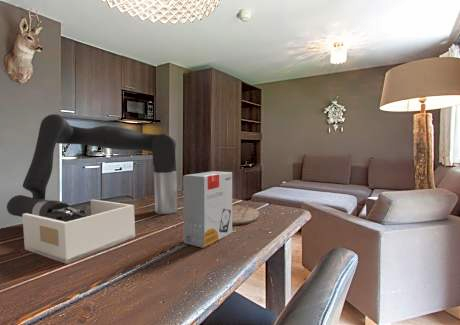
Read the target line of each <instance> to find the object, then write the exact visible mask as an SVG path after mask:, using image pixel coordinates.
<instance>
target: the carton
mask: <svg viewBox="0 0 460 325" xmlns="http://www.w3.org/2000/svg"><path fill="white" fill-rule="evenodd" d="M90 214H91V215H87V217H83V218H80V219H76V220H72V221H68V222H64V221H60V220H55V219H51V218H46V217H42V216H37V215H32V214H28V213H25V214H22V216H23V217H22V226H23V227H22V228H23V239H24V240H23V241H24V242H23V244H24V250H26V251H29V252H31V253H34V254H37V255H41V256H43V257H45V258H49V259H51V260H55V261H56V262H60V263H64V264H66V265H67V264H68V265H69V264H70V263H73V262H75V261H78V260H80V259H83V258H85V257H88V256H90V255H93V254H95V253H98V252H100V251H102V250H105V249H107V248H110V247H113V246H115V245H118V244H120V243H123V242H125V241H128V240H130V239H133V238H135V237H136V223H135V220H136V219H135V205H134V204H128V203H122V202H121V203H120V202H113V201H107V200H101V199H90Z"/></svg>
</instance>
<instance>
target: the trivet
mask: <svg viewBox="0 0 460 325" xmlns="http://www.w3.org/2000/svg"><path fill="white" fill-rule="evenodd" d="M259 218H260V212H259V211H258V210H257V209H255V208H253V207H249V206H243V205H233V204H232V227H238V226H246V225H250V224H252V223H255V222H257V221H258V220H259Z"/></svg>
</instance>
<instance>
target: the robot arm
mask: <svg viewBox="0 0 460 325" xmlns="http://www.w3.org/2000/svg"><path fill="white" fill-rule="evenodd" d="M57 144H60V145H61V144H63V145H65V144H66V145H82V146H83V145H84V146H89V147H90V146H92V147H98V148H104V149H109V150H121V151H122V150H123V151H144V152H145V151H146V152H151V153H152V166H153V179H154V180H153V181H154V182H153V184H154V210H155V214H158V215H169V214H174V213H178V186H177V184H178V182H177V180H178V179H177V162H176V161H177V158H176V149H177V148H176V147H177V143H176V140H175V138H174V137H173V136H172V135H170V134H168V133H155V134H154V133H145V132H140V131H136V130H133V129H128V128H125V127H124V128H123V127H121V126H120V127H119V126H112V125H99V126H96V127H95V126H94V127H91V128H90V127H87V128H86V127H79V126H74V125H70V124H69V122H68V121H67V120H66V119H65V118H64V116H61V115H60V114H54V113H53V114H48V115H46V116H45V117H44V118H43V119H42V120H41V122H40V125H39V128H38V136H37V140H36V145H35V149H34V153H33V156H32V160H31V163H30V165H29V168H28V170H27V173H26V175H25V177H24V180H23V183H22V187H23V189H25V190H27V191H29V193H31V195H32V197H30V196H28V195H27V196H26V195H23V194H19V195H14V196H12V197H11V198H10V199H9V200H8V202H7V203H6V211H7V213H8V214H10V215H11V216H15V217H16V216H17V217H21V218H23V216H22V214H25V213H28V214H32V215H37V216H42V217H46V218H51V219H55V220H60V221H64V222H68V221H72V220H76V219H80V218H83V217H87V216H88V215H87V207H86V206H82V207H80V208H79V209H77V208H76V207H75V208H74V207H72V206H70V204H68V202H65V201H61V200H54V199H46V194H47V193H46V192H47V191H46V190H47V186H48V183H49V181H50V179H51V175H52V172H53V167H54V166H53V165H54V163H53V162H54V152H55V148H56V145H57Z"/></svg>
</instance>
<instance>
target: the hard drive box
mask: <svg viewBox="0 0 460 325" xmlns="http://www.w3.org/2000/svg"><path fill="white" fill-rule="evenodd" d="M182 187H183V188H182V192H183V193H182V194H183V195H182V199H183V202H182V203H183V244H186V245H191V246H195V247H199V248H202V249H204V248H206V247H208V246H210V245H212V244H214V243H215V242H217V241H219V240H221V239H223V238H225V237H227V236H228V235H230V234H233V226H232V205H233V172H232V171H218V170H217V171H216V170H215V171H214V170H213V171H206V172H205V171H204V172H199V173H191V174H185V175H182Z"/></svg>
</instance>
